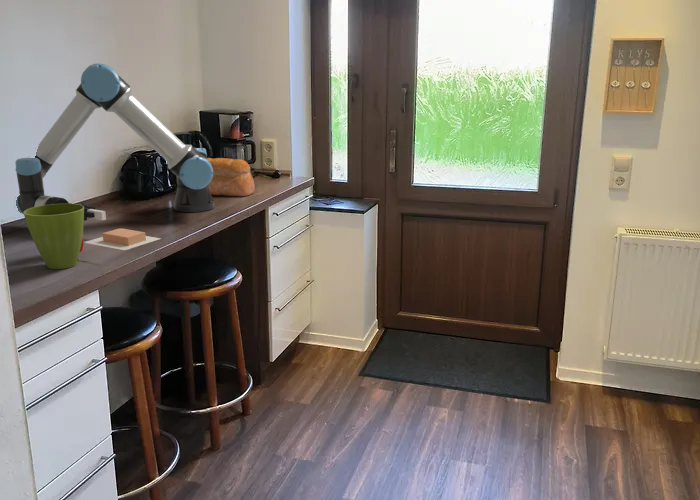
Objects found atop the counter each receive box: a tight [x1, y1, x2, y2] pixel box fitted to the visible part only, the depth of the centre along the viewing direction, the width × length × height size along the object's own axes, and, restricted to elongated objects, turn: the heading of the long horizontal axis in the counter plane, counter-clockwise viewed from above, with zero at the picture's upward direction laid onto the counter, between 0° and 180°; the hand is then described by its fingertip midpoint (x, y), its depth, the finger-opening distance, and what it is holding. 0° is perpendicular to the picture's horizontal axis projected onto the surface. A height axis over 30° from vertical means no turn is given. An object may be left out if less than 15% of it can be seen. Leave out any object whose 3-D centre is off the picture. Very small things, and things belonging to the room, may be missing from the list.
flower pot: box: [23, 203, 85, 270], centre depth 175 cm, size 15×15×16 cm
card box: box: [102, 228, 147, 246], centre depth 200 cm, size 7×3×11 cm
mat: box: [83, 235, 162, 251], centre depth 201 cm, size 15×18×1 cm
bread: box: [207, 157, 256, 197], centre depth 274 cm, size 14×26×15 cm, turn 76°
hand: (103, 215), depth 202 cm, fingers closed
